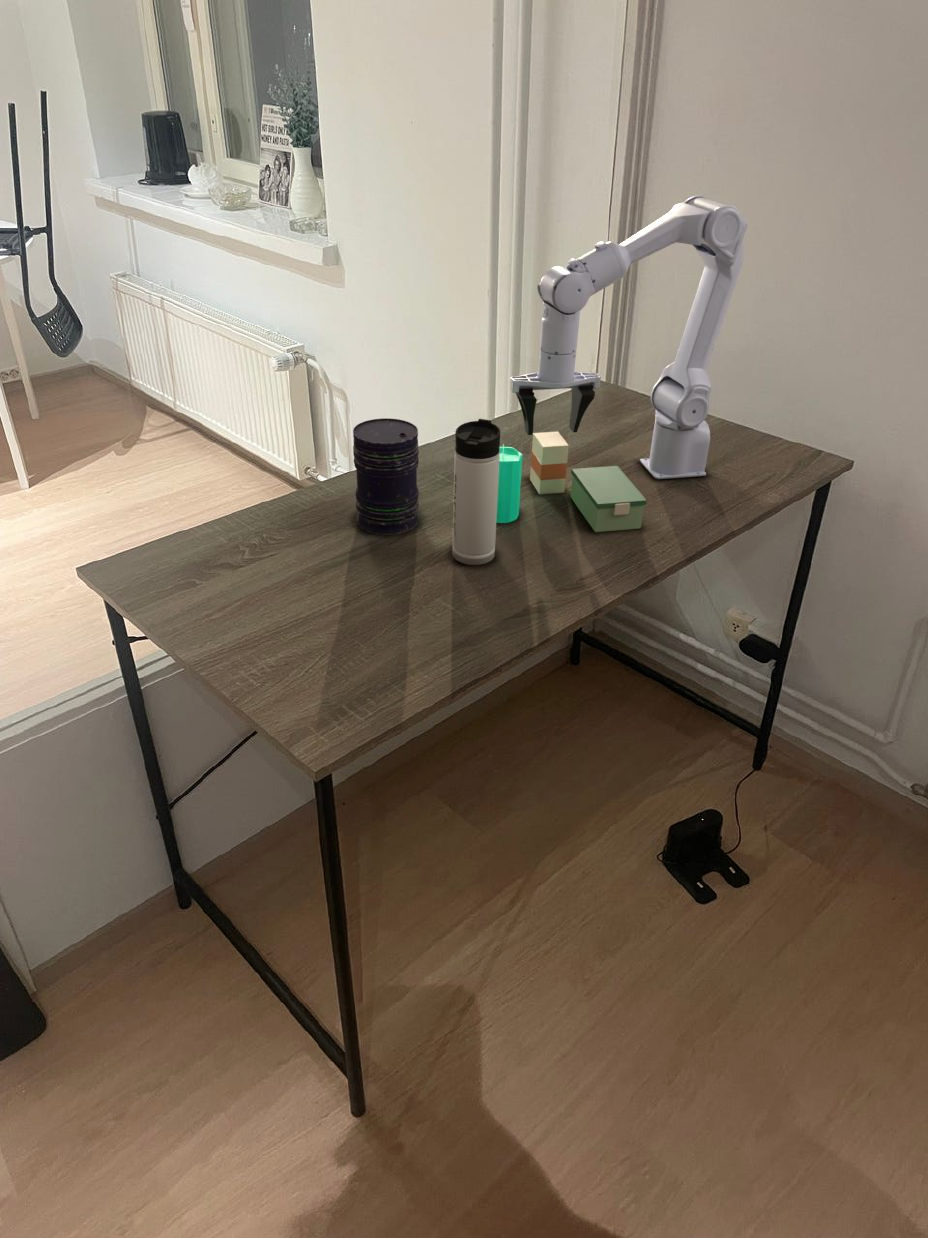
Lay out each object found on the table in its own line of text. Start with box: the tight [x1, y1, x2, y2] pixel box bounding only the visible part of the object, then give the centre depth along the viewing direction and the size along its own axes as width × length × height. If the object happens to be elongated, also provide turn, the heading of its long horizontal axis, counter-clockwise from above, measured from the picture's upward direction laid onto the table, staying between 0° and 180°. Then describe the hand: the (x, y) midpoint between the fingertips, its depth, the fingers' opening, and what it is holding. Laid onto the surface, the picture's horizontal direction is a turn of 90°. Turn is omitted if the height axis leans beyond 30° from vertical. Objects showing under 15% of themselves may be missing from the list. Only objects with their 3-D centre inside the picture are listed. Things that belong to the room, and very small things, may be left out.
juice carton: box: [529, 431, 570, 495], centre depth 153 cm, size 4×6×8 cm
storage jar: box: [352, 417, 420, 536], centre depth 139 cm, size 10×10×15 cm
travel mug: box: [452, 418, 501, 566], centre depth 129 cm, size 6×7×20 cm
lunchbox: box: [570, 465, 648, 533], centre depth 146 cm, size 8×14×5 cm, turn 12°
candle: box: [496, 443, 523, 524], centre depth 142 cm, size 6×6×12 cm
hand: (551, 431), depth 150 cm, fingers open, 7 cm apart
